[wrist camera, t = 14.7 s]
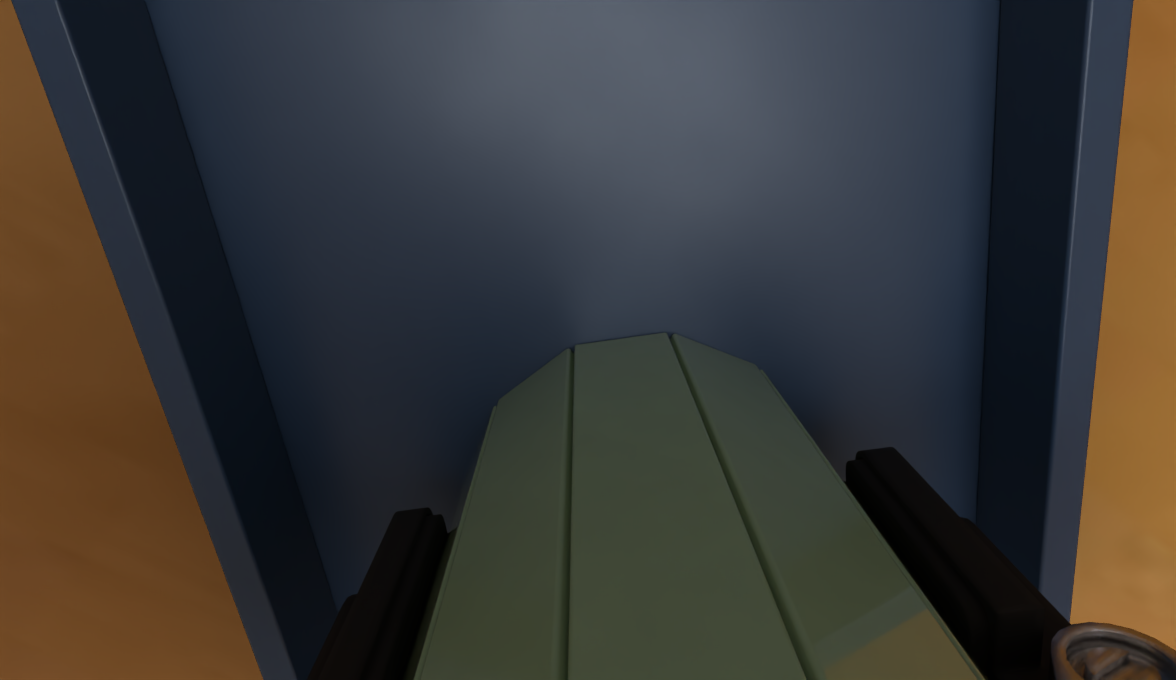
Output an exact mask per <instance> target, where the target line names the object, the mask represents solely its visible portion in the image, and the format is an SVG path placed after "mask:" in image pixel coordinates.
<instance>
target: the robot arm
mask: <svg viewBox="0 0 1176 680" xmlns="http://www.w3.org/2000/svg"><path fill="white" fill-rule="evenodd" d="M846 483H847V484H848V485H849V487H850V488H851V489H852V491H853V492H854V494H855V495H856V496H857V498H858V499H859V501H860V502H861V503H862V505H863V506H864V507H865V509H866V510H867V512H868V513H869V514H870V516H871V517H872V518H873V520H874V521H875V523H876V524H877V525H878V527H879V528H880V530H881V531H882V532H883V534H884V535H885V536H886V538H887V539H888V541H889V542H890V543H891V545H892V546H893V547H894V549H895V550H896V552H897V553H898V554H899V556H900V557H901V559H902V560H903V561H904V563H905V564H906V565H907V567H908V568H909V570H910V571H911V572H912V574H913V575H914V576H915V578H916V579H917V581H918V582H919V583H920V585H921V586H922V588H923V589H924V590H925V592H926V593H927V594H928V596H929V597H930V599H931V600H932V601H933V603H934V604H935V605H936V607H937V608H938V610H939V611H940V612H941V614H942V615H943V617H944V618H945V619H946V621H947V622H948V623H949V625H950V626H951V628H952V629H953V630H954V632H955V633H956V634H957V636H958V637H959V639H960V640H961V641H962V643H963V644H964V646H965V647H966V648H967V650H968V651H969V652H970V654H971V655H972V657H973V658H974V659H975V661H976V662H977V663H978V665H979V666H980V668H981V669H982V670H983V672H984V673H985V675H986V676H987V677H988V679H989V680H1176V651H1175V650H1174V649H1172V648H1170V647H1169V646H1167V645H1165V644H1164V643H1162V642H1160V641H1159V640H1157V639H1155V638H1153V637H1150V636H1148V635H1146V634H1143V633H1141V632H1138V631H1136V630H1133V629H1130V628H1126V627H1121V626H1117V625H1113V624H1108V623H1094V622H1086V623H1079V624H1072V625H1071V624H1070V623H1069V622H1068V621H1067V620H1066V619H1065V618H1064V617H1063V616H1062V615H1061V613H1060V612H1059V611H1058V610H1057V609H1056V608H1055V607H1054V606H1053V605H1052V604H1051V603H1050V602H1049V601H1048V600H1047V599H1046V598H1045V597H1044V596H1043V595H1042V594H1041V593H1040V592H1039V591H1038V590H1037V588H1036V587H1035V586H1034V585H1033V584H1032V583H1031V582H1030V581H1029V580H1028V579H1027V578H1026V577H1025V576H1024V575H1023V574H1022V573H1021V572H1020V571H1019V570H1018V569H1017V568H1016V567H1015V566H1014V565H1013V563H1012V562H1011V561H1010V560H1009V559H1008V558H1007V557H1006V556H1005V555H1004V554H1003V553H1002V552H1001V551H1000V550H999V549H998V548H997V547H996V546H995V545H994V544H993V543H992V542H991V541H990V540H989V538H988V537H987V536H986V535H985V534H984V533H983V532H982V531H981V530H980V529H979V528H978V527H977V526H976V525H975V524H974V523H973V522H971V521H970V520H969V519H967V518H963V517H959V516H958V515H957V513H956V512H955V511H954V510H953V509H952V508H951V507H950V506H949V505H948V504H947V503H946V502H945V501H944V500H943V499H942V498H941V496H940V495H939V494H938V493H937V492H936V491H935V490H934V489H933V488H932V487H931V486H930V485H929V484H928V483H927V482H926V481H925V479H924V478H923V477H922V476H921V475H920V474H919V473H918V472H917V471H916V470H915V469H914V468H913V467H912V466H911V465H910V463H909V462H908V461H907V460H906V459H905V458H904V457H903V456H902V455H901V454H900V453H899V452H898V451H897V450H896V449H895V448H894V447H885V448H877V449H869V450H862V451H858V452H857V453H856V457H855V460H851V461H848V462H847V463H846ZM447 535H448V533H447V529H446V525H445V521H444V518H443V516H442V515H441V514H438V515H433V513H432V511H431V509H430V508H428V507H426V508H419V509H411V510H404V511H397V512H395V514H394V515H393V517H392V519H391V522H390V524H389V526H388V528H387V530H386V532H385V535H384V537H383V539H382V541H381V543H380V545H379V548H378V550H377V552H376V554H375V556H374V559H373V561H372V563H371V565H370V567H369V569H368V572H367V574H366V576H365V578H364V580H363V582H362V585H361V587H360V589H359V591H358V593H357V594H353V595H351V596H349V597H347V599H346V600H345V602H344V603H343V605H342V607H341V609H340V611H339V613H338V615H337V617H336V619H335V621H334V624H333V626H332V628H331V630H330V632H329V634H328V636H327V638H326V640H325V642H324V644H323V646H322V649H321V651H320V653H319V655H318V657H317V659H316V661H315V663H314V665H313V667H312V669H311V671H310V674H309V676H308V678H307V680H402V679H403V676H404V673H405V669H406V666H407V663H408V660H409V657H410V653H411V650H412V647H413V644H414V641H415V637H416V634H417V631H418V628H419V624H420V621H421V618H422V615H423V612H424V608H425V605H426V602H427V599H428V596H429V592H430V589H431V586H432V583H433V580H434V576H435V573H436V570H437V567H438V563H439V560H440V557H441V554H442V551H443V547H444V544H445V541H446V538H447Z"/></svg>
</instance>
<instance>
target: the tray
mask: <svg viewBox="0 0 1176 680" xmlns="http://www.w3.org/2000/svg"><path fill="white" fill-rule="evenodd" d="M11 1H12V3H13V6H14V9H15V11H16V14H17V17H18V20H19V22H20V25H21V28H22V30H23V33H24V36H25V38H26V41H27V44H28V46H29V49H30V52H31V55H32V57H33V60H34V63H35V65H36V68H37V71H38V73H39V76H40V79H41V82H42V84H43V87H44V90H45V92H46V95H47V98H48V100H49V103H50V106H51V108H52V111H53V114H54V117H55V119H56V122H57V125H58V127H59V130H60V133H61V135H62V138H63V141H64V143H65V146H66V149H67V152H68V154H69V157H70V160H71V162H72V165H73V168H74V170H75V173H76V176H77V178H78V181H79V184H80V187H81V189H82V192H83V195H84V197H85V200H86V203H87V205H88V208H89V211H90V214H91V216H92V219H93V222H94V224H95V227H96V230H97V232H98V235H99V238H100V240H101V243H102V246H103V249H104V251H105V254H106V257H107V259H108V262H109V265H110V267H111V270H112V273H113V275H114V278H115V281H116V284H117V286H118V289H119V292H120V294H121V297H122V300H123V302H124V305H125V308H126V310H127V313H128V316H129V319H130V321H131V324H132V327H133V329H134V332H135V335H136V337H137V340H138V343H139V345H140V348H141V351H142V354H143V356H144V359H145V362H146V364H147V367H148V370H149V372H150V375H151V378H152V381H153V383H154V386H155V389H156V391H157V394H158V397H159V399H160V402H161V405H162V407H163V410H164V413H165V416H166V418H167V421H168V424H169V426H170V429H171V432H172V434H173V437H174V440H175V442H176V445H177V448H178V451H179V453H180V456H181V459H182V461H183V464H184V467H185V469H186V472H187V475H188V477H189V480H190V483H191V486H192V488H193V491H194V494H195V496H196V499H197V502H198V504H199V507H200V510H201V513H202V515H203V518H204V521H205V523H206V526H207V529H208V531H209V534H210V537H211V539H212V542H213V545H214V548H215V550H216V553H217V556H218V558H219V561H220V564H221V566H222V569H223V572H224V574H225V577H226V580H227V583H228V585H229V588H230V591H231V593H232V596H233V599H234V601H235V604H236V607H237V609H238V612H239V615H240V618H241V620H242V623H243V626H244V628H245V631H246V634H247V636H248V639H249V642H250V644H251V647H252V650H253V653H254V655H255V658H256V661H257V663H258V666H259V669H260V671H261V674H262V677H263V680H307V678H308V676H309V674H310V671H311V669H312V667H313V665H314V663H315V661H316V659H317V657H318V655H319V653H320V651H321V649H322V646H323V644H324V642H325V640H326V638H327V636H328V634H329V632H330V630H331V628H332V626H333V624H334V621H335V619H336V617H337V615H338V613H339V611H340V609H341V607H342V605H343V603H344V602H345V600H346V599H347V597H349V596H351V595H353V594H357V593H358V591H359V589H360V587H361V585H362V582H363V580H364V578H365V576H366V574H367V572H368V569H369V567H370V565H371V563H372V561H373V559H374V556H375V554H376V552H377V550H378V548H379V545H380V543H381V541H382V539H383V537H384V535H385V532H386V530H387V528H388V526H389V524H390V522H391V519H392V517H393V515H394V514H395V512H397V511H404V510H411V509H419V508H426V507H428V508H430V509H431V511H432V513H433V515H438V514H441V515H442V516H443V518H444V521H445V525H446V529H447V533H448V531H449V528H450V525H451V522H452V519H453V515H454V512H455V509H456V506H457V502H458V499H459V496H460V493H461V490H462V486H463V483H464V480H465V477H466V475H467V472H468V469H469V467H470V464H471V462H472V459H473V457H474V454H475V452H476V449H477V446H478V444H479V441H480V439H481V436H482V434H483V431H484V428H485V426H486V423H487V421H488V418H489V416H490V413H491V411H492V408H493V407H494V406H497V402H498V400H499V399H500V398H502V397H503V396H504V395H506V394H507V393H508V392H510V391H511V390H512V389H514V388H515V387H516V386H518V385H519V384H520V383H522V382H523V381H524V380H526V379H527V378H528V377H530V376H531V375H532V374H534V373H535V372H536V371H538V370H539V369H540V368H542V367H543V366H544V365H546V364H547V363H548V362H550V361H551V360H552V359H554V358H555V357H556V356H558V355H559V354H560V353H562V352H563V351H564V350H566V349H568V348H569V349H571V350H572V351H573V353H574V346H575V345H578V344H586V343H593V342H600V341H607V340H615V339H622V338H629V337H636V336H644V335H651V334H658V333H667V334H668V336H669V338H671V336H672V335H673V334H678V335H680V336H683V337H685V338H688V339H691V340H693V341H696V342H698V343H701V344H704V345H706V346H709V347H711V348H714V349H716V350H719V351H722V352H724V353H727V354H729V355H732V356H735V357H737V358H740V359H742V360H745V361H748V362H750V363H753V364H755V365H757V367H758V368H759V369H760V370H764V372H765V373H766V374H767V376H768V377H769V378H770V380H771V381H772V382H773V384H774V385H775V386H776V388H777V389H778V390H779V392H780V393H781V394H782V396H783V397H784V398H785V400H786V401H787V402H788V404H789V405H790V406H791V408H792V409H793V410H794V412H795V413H796V414H797V416H798V417H799V418H800V420H801V421H802V422H803V424H804V425H805V426H806V428H807V429H808V430H809V432H810V433H811V434H812V436H813V437H814V438H815V440H816V441H817V443H818V444H819V445H820V447H821V448H822V449H823V451H824V452H825V454H826V455H827V456H828V458H829V459H830V461H831V462H832V463H833V465H834V466H835V467H836V469H837V470H838V472H839V473H840V474H841V476H842V477H843V478H844V480H845V481H846V463H847V462H848V461H851V460H855V457H856V453H857V452H858V451H862V450H869V449H877V448H885V447H894V448H895V449H896V450H897V451H898V452H899V453H900V454H901V455H902V456H903V457H904V458H905V459H906V460H907V461H908V462H909V463H910V465H911V466H912V467H913V468H914V469H915V470H916V471H917V472H918V473H919V474H920V475H921V476H922V477H923V478H924V479H925V481H926V482H927V483H928V484H929V485H930V486H931V487H932V488H933V489H934V490H935V491H936V492H937V493H938V494H939V495H940V496H941V498H942V499H943V500H944V501H945V502H946V503H947V504H948V505H949V506H950V507H951V508H952V509H953V510H954V511H955V512H956V513H957V515H958V516H959V517H963V518H967V519H969V520H970V521H971V522H973V523H974V524H975V525H976V526H977V527H978V528H979V529H980V530H981V531H982V532H983V533H984V534H985V535H986V536H987V537H988V538H989V540H990V541H991V542H992V543H993V544H994V545H995V546H996V547H997V548H998V549H999V550H1000V551H1001V552H1002V553H1003V554H1004V555H1005V556H1006V557H1007V558H1008V559H1009V560H1010V561H1011V562H1012V563H1013V565H1014V566H1015V567H1016V568H1017V569H1018V570H1019V571H1020V572H1021V573H1022V574H1023V575H1024V576H1025V577H1026V578H1027V579H1028V580H1029V581H1030V582H1031V583H1032V584H1033V585H1034V586H1035V587H1036V588H1037V590H1038V591H1039V592H1040V593H1041V594H1042V595H1043V596H1044V597H1045V598H1046V599H1047V600H1048V601H1049V602H1050V603H1051V604H1052V605H1053V606H1054V607H1055V608H1056V609H1057V610H1058V611H1059V612H1060V613H1061V615H1062V616H1063V617H1064V618H1065V619H1066V620H1067V621H1068V622H1069V623H1070V613H1071V604H1072V594H1073V584H1074V574H1075V564H1076V555H1077V545H1078V535H1079V525H1080V516H1081V506H1082V496H1083V486H1084V477H1085V467H1086V457H1087V447H1088V438H1089V428H1090V418H1091V408H1092V399H1093V389H1094V379H1095V369H1096V360H1097V350H1098V340H1099V330H1100V321H1101V311H1102V301H1103V291H1104V281H1105V272H1106V262H1107V252H1108V242H1109V233H1110V223H1111V213H1112V203H1113V194H1114V184H1115V174H1116V164H1117V155H1118V145H1119V135H1120V125H1121V116H1122V106H1123V96H1124V86H1125V77H1126V67H1127V57H1128V47H1129V38H1130V28H1131V18H1132V8H1133V0H11Z"/></svg>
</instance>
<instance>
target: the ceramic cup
mask: <svg viewBox="0 0 1176 680" xmlns="http://www.w3.org/2000/svg"><path fill="white" fill-rule="evenodd" d="M402 680H989V679H988V677H987V676H986V675H985V673H984V672H983V670H982V669H981V668H980V666H979V665H978V663H977V662H976V661H975V659H974V658H973V657H972V655H971V654H970V652H969V651H968V650H967V648H966V647H965V646H964V644H963V643H962V641H961V640H960V639H959V637H958V636H957V634H956V633H955V632H954V630H953V629H952V628H951V626H950V625H949V623H948V622H947V621H946V619H945V618H944V617H943V615H942V614H941V612H940V611H939V610H938V608H937V607H936V605H935V604H934V603H933V601H932V600H931V599H930V597H929V596H928V594H927V593H926V592H925V590H924V589H923V588H922V586H921V585H920V583H919V582H918V581H917V579H916V578H915V576H914V575H913V574H912V572H911V571H910V570H909V568H908V567H907V565H906V564H905V563H904V561H903V560H902V559H901V557H900V556H899V554H898V553H897V552H896V550H895V549H894V547H893V546H892V545H891V543H890V542H889V541H888V539H887V538H886V536H885V535H884V534H883V532H882V531H881V530H880V528H879V527H878V525H877V524H876V523H875V521H874V520H873V518H872V517H871V516H870V514H869V513H868V512H867V510H866V509H865V507H864V506H863V505H862V503H861V502H860V501H859V499H858V498H857V496H856V495H855V494H854V492H853V491H852V489H851V488H850V487H849V485H848V484H847V483H846V481H845V480H844V478H843V477H842V476H841V474H840V473H839V472H838V470H837V469H836V467H835V466H834V465H833V463H832V462H831V461H830V459H829V458H828V456H827V455H826V454H825V452H824V451H823V449H822V448H821V447H820V445H819V444H818V443H817V441H816V440H815V438H814V437H813V436H812V434H811V433H810V432H809V430H808V429H807V428H806V426H805V425H804V424H803V422H802V421H801V420H800V418H799V417H798V416H797V414H796V413H795V412H794V410H793V409H792V408H791V406H790V405H789V404H788V402H787V401H786V400H785V398H784V397H783V396H782V394H781V393H780V392H779V390H778V389H777V388H776V386H775V385H774V384H773V382H772V381H771V380H770V378H769V377H768V376H767V374H766V373H765V372H764V370H760V369H759V368H758V367H757V365H755V364H753V363H750V362H748V361H745V360H742V359H740V358H737V357H735V356H732V355H729V354H727V353H724V352H722V351H719V350H716V349H714V348H711V347H709V346H706V345H704V344H701V343H698V342H696V341H693V340H691V339H688V338H685V337H683V336H680V335H678V334H673V335H672V336H671V338H669V336H668V334H667V333H658V334H651V335H644V336H636V337H629V338H622V339H615V340H607V341H600V342H593V343H586V344H578V345H575V346H574V353H573V351H572V350H571V349H569V348H568V349H566V350H564V351H563V352H562V353H560V354H559V355H558V356H556V357H555V358H554V359H552V360H551V361H550V362H548V363H547V364H546V365H544V366H543V367H542V368H540V369H539V370H538V371H536V372H535V373H534V374H532V375H531V376H530V377H528V378H527V379H526V380H524V381H523V382H522V383H520V384H519V385H518V386H516V387H515V388H514V389H512V390H511V391H510V392H508V393H507V394H506V395H504V396H503V397H502V398H500V399H499V400H498V402H497V406H494V407H493V408H492V411H491V413H490V416H489V418H488V421H487V423H486V426H485V428H484V431H483V434H482V436H481V439H480V441H479V444H478V446H477V449H476V452H475V454H474V457H473V459H472V462H471V464H470V467H469V469H468V472H467V475H466V477H465V480H464V483H463V486H462V490H461V493H460V496H459V499H458V502H457V506H456V509H455V512H454V515H453V519H452V522H451V525H450V528H449V531H448V535H447V538H446V541H445V544H444V547H443V551H442V554H441V557H440V560H439V563H438V567H437V570H436V573H435V576H434V580H433V583H432V586H431V589H430V592H429V596H428V599H427V602H426V605H425V608H424V612H423V615H422V618H421V621H420V624H419V628H418V631H417V634H416V637H415V641H414V644H413V647H412V650H411V653H410V657H409V660H408V663H407V666H406V669H405V673H404V676H403V679H402Z"/></svg>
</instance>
